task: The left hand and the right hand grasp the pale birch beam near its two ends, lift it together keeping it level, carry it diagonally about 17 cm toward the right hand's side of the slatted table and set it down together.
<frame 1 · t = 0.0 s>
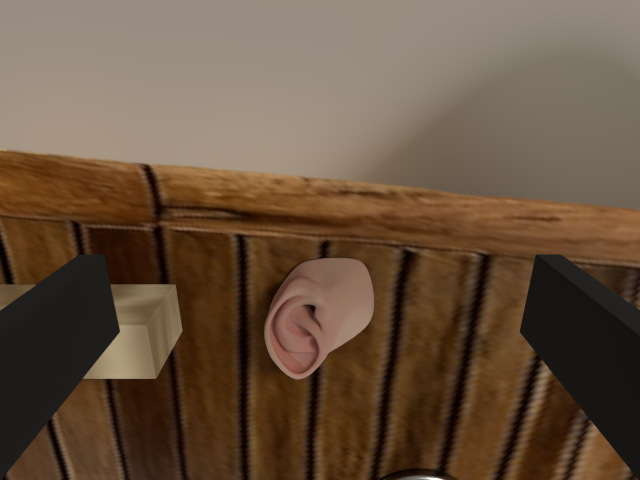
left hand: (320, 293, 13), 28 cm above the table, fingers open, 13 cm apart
birch beam: (26, 308, 45), on the table
anatomical model: (319, 306, 45), on the table
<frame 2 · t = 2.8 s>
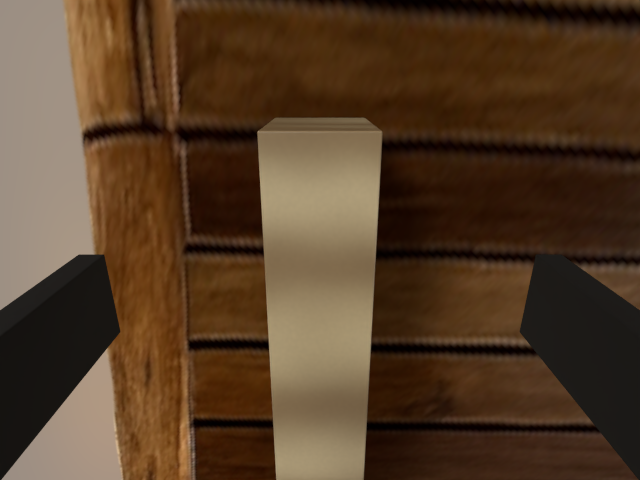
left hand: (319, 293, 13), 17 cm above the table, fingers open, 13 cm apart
birch beam: (320, 335, 33), on the table
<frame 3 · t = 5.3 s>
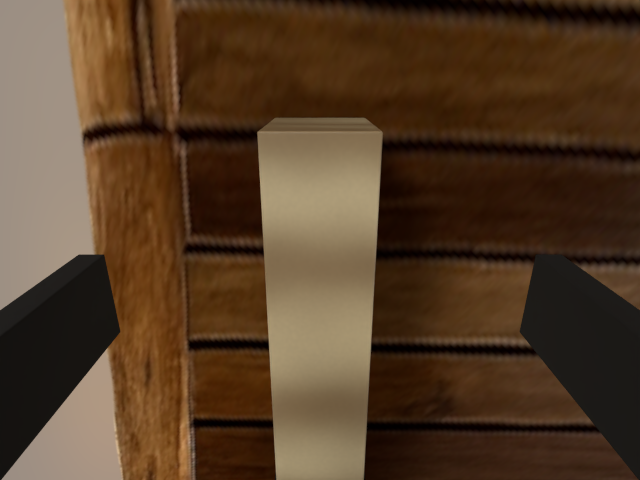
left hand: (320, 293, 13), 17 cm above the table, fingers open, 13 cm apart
birch beam: (319, 335, 33), on the table, touching right hand
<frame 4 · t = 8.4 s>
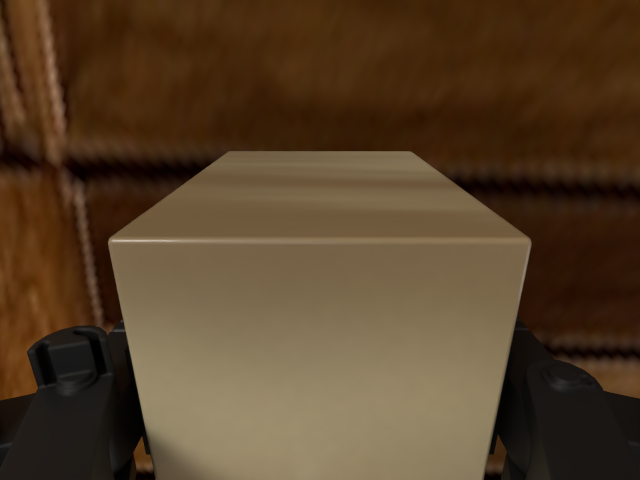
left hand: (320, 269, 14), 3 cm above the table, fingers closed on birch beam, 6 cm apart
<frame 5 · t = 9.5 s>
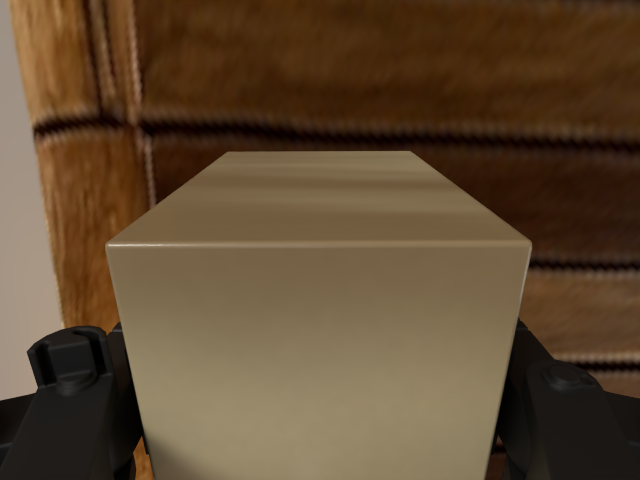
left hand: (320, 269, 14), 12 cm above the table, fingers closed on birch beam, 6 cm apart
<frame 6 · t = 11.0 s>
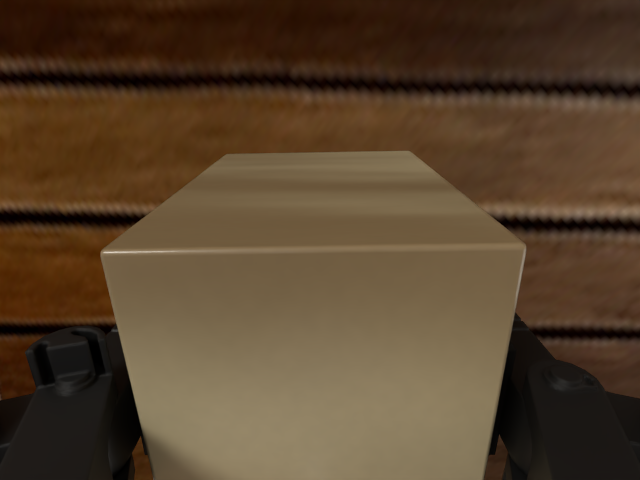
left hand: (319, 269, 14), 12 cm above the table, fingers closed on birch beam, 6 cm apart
when the left hand's fingers open (1 cm above the table, at t = 13.6 s): birch beam drops 1 cm, on the table.
when the right hand's fingers open (1 cm above the table, at t = 13.6 s): birch beam drops 1 cm, on the table.
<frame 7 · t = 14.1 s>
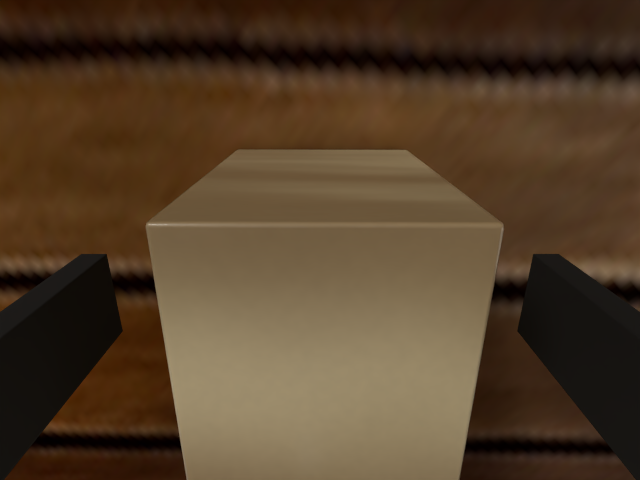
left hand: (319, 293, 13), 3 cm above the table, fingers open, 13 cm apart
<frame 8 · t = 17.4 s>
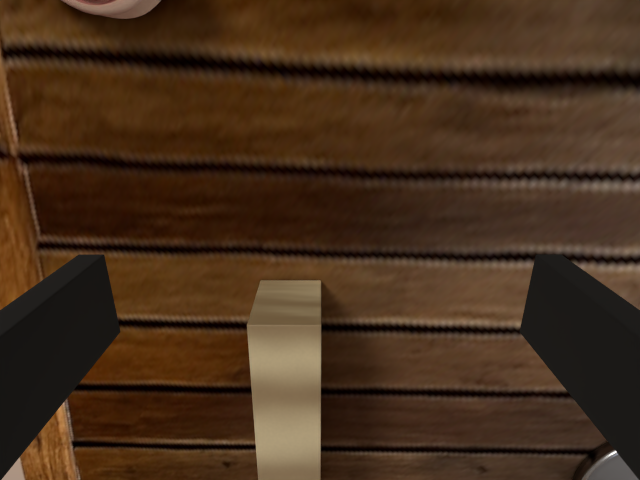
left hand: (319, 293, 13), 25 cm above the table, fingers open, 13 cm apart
birch beam: (294, 413, 46), on the table
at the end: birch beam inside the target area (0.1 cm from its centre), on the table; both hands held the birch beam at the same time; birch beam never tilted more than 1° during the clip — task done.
